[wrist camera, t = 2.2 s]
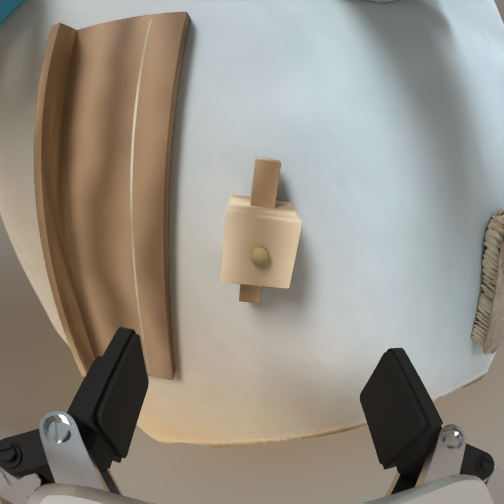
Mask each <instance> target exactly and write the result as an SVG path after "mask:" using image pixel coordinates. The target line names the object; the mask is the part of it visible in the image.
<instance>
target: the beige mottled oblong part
mask: <svg viewBox="0 0 504 504" xmlns="http://www.w3.org/2000/svg"><path fill="white" fill-rule="evenodd" d="M485 240H486V241H485V242H484V245H485V246H486V247H487V249H486V250H484V251H485V254H483V257H484V259H483V260H482V265H483V267H484V268H483V269H482V271H483V272H484V274H485V275H482V277H483V278H484V280H482V281H483V283H484V285H483V284H481V287H482V290H483V291H484V293H480V294H481V296H480V297H479V302H478V309H479V311H476V313H477V314H478V315H475V316H476V317H477V318H478V319H479V321H475V322H476V323H477V324H474V326H475V327H474V328H473V331H472V336H471V339H472V340H473V341H475V342H476V343H478V344H479V345H481V346H482V347H484V348H483V352H484V354H485V355H486V354H491V353H494V352H495V351H496V350H497V348H498V347H499V346H500V345H501V344H502V343H503V341H504V210H502V209H500V210H499V212H498V216H494V215H492V219H491V220H490V223H489V224H488V230H487V231H486V233H485Z"/></svg>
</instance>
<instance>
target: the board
mask: <svg viewBox="0 0 504 504" xmlns="http://www.w3.org/2000/svg"><path fill="white" fill-rule="evenodd" d="M189 22H190V16H189V15H188V13H187V12H173V13H161V14H153V15H145V16H138V17H132V18H126V19H121V20H116V21H111V22H107V23H102V24H98V25H94V26H90V27H87V28H83V29H80V30H75V29H73V28H71V27H68V26H66V25H64V24H61V23H58V24H56V25H53V26H52V28H51V31H50V35H49V39H48V42H47V46H46V51H45V55H44V60H43V65H42V70H41V76H40V82H39V88H38V96H37V105H36V115H35V130H34V180H35V196H36V207H37V216H38V224H39V231H40V237H41V243H42V249H43V254H44V259H45V264H46V269H47V273H48V278H49V282H50V286H51V290H52V293H53V297H54V301H55V304H56V307H57V311H58V314H59V317H60V320H61V323H62V326H63V329H64V332H65V335H66V338H67V340H68V343H69V346H70V348H71V351H72V353H73V356H74V358H75V361H76V363H77V365H78V368H79V370H80V372H81V374H82V376H84V377H85V376H86V374H87V373H88V371H89V369H90V367H91V365H92V363H93V362H94V360H95V359H96V358H97V357H98V356H101V357H102V356H103V354H104V352H105V350H106V349H107V347H108V345H109V343H110V342H111V340H112V338H113V336H114V334H115V333H116V331H117V329H118V328H119V327H124V328H129V329H134V330H135V332H136V334H139V335H140V339H141V345H142V351H143V356H144V361H145V366H146V371H147V375H149V376H154V377H159V378H164V379H170V380H173V377H174V374H175V366H174V356H173V345H172V333H171V319H170V301H169V274H168V210H169V183H170V165H171V151H172V139H173V128H174V118H175V109H176V100H177V93H178V85H179V78H180V71H181V65H182V59H183V53H184V47H185V42H186V37H187V32H188V27H189Z"/></svg>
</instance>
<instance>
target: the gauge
mask: <svg viewBox="0 0 504 504" xmlns="http://www.w3.org/2000/svg"><path fill="white" fill-rule="evenodd" d="M280 168H281V162H280V161H279V160H272V159H265V158H257V157H256V160H255V168H254V176H253V184H252V193H251V197H249V196H240V195H232V196H231V199H230V202H229V205H228V209H227V212H226V216H225V228H224V239H223V251H222V264H221V277H220V282H227V283H236V284H241V285H240V296H239V301H242V302H253V303H260V298H261V292H262V286H266V287H277V288H288V289H289V286H290V282H291V277H292V272H293V267H294V262H295V258H296V253H297V248H298V243H299V237H300V232H301V227H302V222H301V220H300V219H299V217H298V215H297V213H296V211H295V210H294V208H293V206H292V204H291V202H289V201H282V200H276V196H277V189H278V182H279V175H280Z"/></svg>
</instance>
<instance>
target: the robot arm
mask: <svg viewBox="0 0 504 504" xmlns="http://www.w3.org/2000/svg"><path fill="white" fill-rule="evenodd" d="M371 1H377V2H390V1H395V0H371ZM148 383H149V381H148V376H147V371H146V366H145V361H144V356H143V351H142V345H141V339H140V335H139V334H136V332H135V330H134V329H129V328H124V327H119V328H118V329H117V331H116V333H115V334H114V336H113V338H112V340H111V342H110V343H109V345H108V347H107V349H106V350H105V352H104V354H103V356H102V357H101V356H98V357H97V358H96V359H95V360H94V362H93V363H92V365H91V367H90V369H89V371H88V373H87V374H86V376H85V378H84V380H83V382H82V384H81V386H80V388H79V390H78V392H77V393H76V396H75V397H74V399H73V401H72V403H71V406H70V407H69V409H68V412H67V414H66V413H64V412H60V411H54V412H50V413H48V414H46V415H45V416H44V417H43V418H42V420H41V422H40V425H39V429H36V430H33V431H29V432H26V433H22V434H19V435H15V436H12V437H8V438H4V439H2V440H1V441H0V504H22V503H23V502H24V500H25V499H27V498H28V497H29V496H28V494H30V493H31V492H32V491H34V490H35V492H34V493H33V494H32V496H31V497H30V499H29V501H28V503H27V504H153V503H149V502H145V501H141V500H137V499H133V498H129V497H126V496H124V495H123V493H122V492H121V490H120V488H119V486H118V485H117V483H116V481H115V479H114V478H113V476H112V474H111V472H110V470H109V468H110V466H111V463H112V461H116V462H119V463H120V462H121V459H122V458H126V456H127V454H128V450H129V447H130V443H131V440H132V437H133V433H134V430H135V427H136V423H137V420H138V417H139V414H140V411H141V407H142V404H143V401H144V398H145V395H146V392H147V389H148ZM360 402H361V405H362V408H363V411H364V414H365V417H366V420H367V423H368V426H369V430H370V433H371V436H372V439H373V443H374V446H375V449H376V452H377V456H378V459H379V462H380V464H383V467H384V469H388V468H392V467H395V466H396V467H397V472H396V475H395V477H394V479H393V481H392V483H391V485H390V487H389V489H388V491H387V493H386V495H385V497H383V498H379V499H376V500H372V501H368V502H363V503H360V504H504V473H503V472H502V471H501V470H500V469H498V468H497V467H495V468H494V461H493V458H492V457H491V455H490V454H488V453H487V452H484V451H482V450H480V449H478V448H475V447H473V446H471V445H469V444H467V443H466V436H465V433H464V432H463V430H462V429H461V428H460V427H458V426H456V425H453V424H449V425H446V426H444V427H443V428H442V427H441V425H442V424H443V422H442V420H441V418H440V416H439V414H438V412H437V410H436V408H435V406H434V404H433V402H432V400H431V398H430V396H429V394H428V392H427V390H426V388H425V386H424V385H423V383H422V381H421V379H420V377H419V375H418V374H417V372H416V370H415V368H414V366H413V365H412V363H411V361H410V359H409V358H408V356H407V354H406V352H405V351H404V349H403V348H390V349H388V350H387V352H385V353H384V354H383V356H382V357H381V359H380V361H379V363H378V365H377V367H376V368H375V370H374V372H373V374H372V375H371V377H370V379H369V380H368V382H367V384H366V385H365V387H364V389H363V390H362V392H361V394H360Z"/></svg>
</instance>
